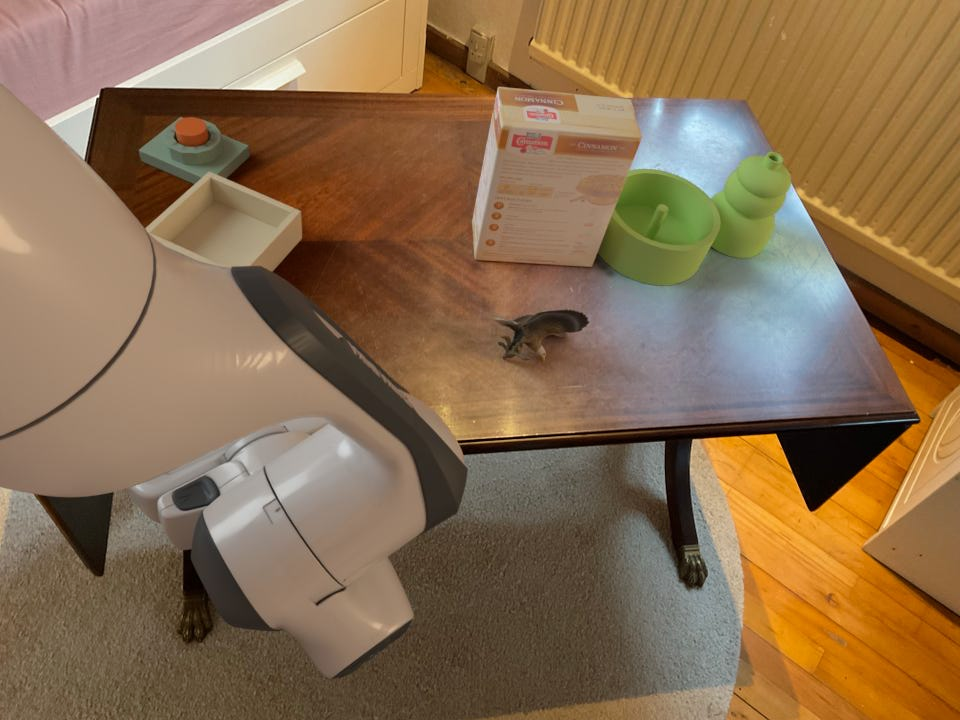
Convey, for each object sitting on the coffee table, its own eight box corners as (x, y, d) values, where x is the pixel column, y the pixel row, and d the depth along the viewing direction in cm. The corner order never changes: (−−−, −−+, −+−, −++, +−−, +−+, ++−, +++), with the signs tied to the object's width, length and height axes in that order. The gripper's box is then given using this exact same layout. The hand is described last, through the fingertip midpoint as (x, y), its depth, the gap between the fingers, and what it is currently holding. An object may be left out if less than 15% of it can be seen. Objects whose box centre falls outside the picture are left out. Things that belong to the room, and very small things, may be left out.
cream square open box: (146, 262, 81) (138, 234, 78) (213, 199, 88) (208, 171, 85) (242, 305, 80) (238, 278, 76) (302, 238, 87) (301, 210, 84)
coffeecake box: (584, 228, 96) (632, 97, 80) (593, 269, 91) (645, 138, 76) (470, 220, 93) (496, 83, 78) (473, 261, 89) (502, 124, 74)
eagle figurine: (540, 389, 78) (599, 340, 81) (518, 336, 74) (580, 286, 77) (497, 368, 84) (553, 323, 87) (474, 318, 80) (534, 273, 83)
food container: (619, 292, 90) (655, 214, 80) (575, 210, 97) (602, 130, 88) (787, 267, 97) (839, 194, 87) (734, 193, 105) (775, 118, 95)
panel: (141, 161, 90) (135, 137, 88) (182, 127, 95) (178, 104, 92) (211, 192, 89) (207, 169, 86) (250, 156, 94) (247, 133, 91)
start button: (170, 140, 89) (168, 128, 87) (189, 125, 91) (187, 113, 90) (196, 151, 88) (194, 139, 87) (214, 136, 91) (212, 124, 89)
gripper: (388, 407, 62) (309, 296, 68) (141, 527, 53) (74, 387, 58) (383, 445, 67) (310, 338, 73) (158, 560, 58) (94, 428, 63)
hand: (203, 361), depth 66 cm, fingers open, 8 cm apart
